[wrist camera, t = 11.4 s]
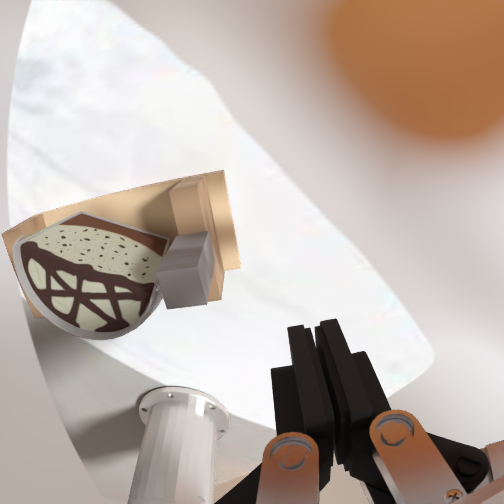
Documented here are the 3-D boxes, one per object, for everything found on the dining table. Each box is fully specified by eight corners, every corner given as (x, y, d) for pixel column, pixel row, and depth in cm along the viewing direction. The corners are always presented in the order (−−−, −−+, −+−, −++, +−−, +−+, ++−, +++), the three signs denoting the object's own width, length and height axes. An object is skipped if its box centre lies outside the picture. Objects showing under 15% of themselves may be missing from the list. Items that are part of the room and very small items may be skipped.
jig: (240, 263, 30) (240, 295, 25) (60, 289, 31) (34, 317, 25) (223, 170, 27) (218, 181, 21) (34, 215, 28) (1, 233, 22)
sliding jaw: (226, 271, 29) (218, 348, 19) (201, 275, 29) (182, 352, 19) (207, 174, 26) (183, 207, 16) (179, 180, 26) (139, 215, 16)
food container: (63, 262, 29) (11, 312, 19) (68, 206, 27) (6, 244, 17) (171, 298, 30) (147, 367, 21) (186, 243, 28) (160, 300, 19)
